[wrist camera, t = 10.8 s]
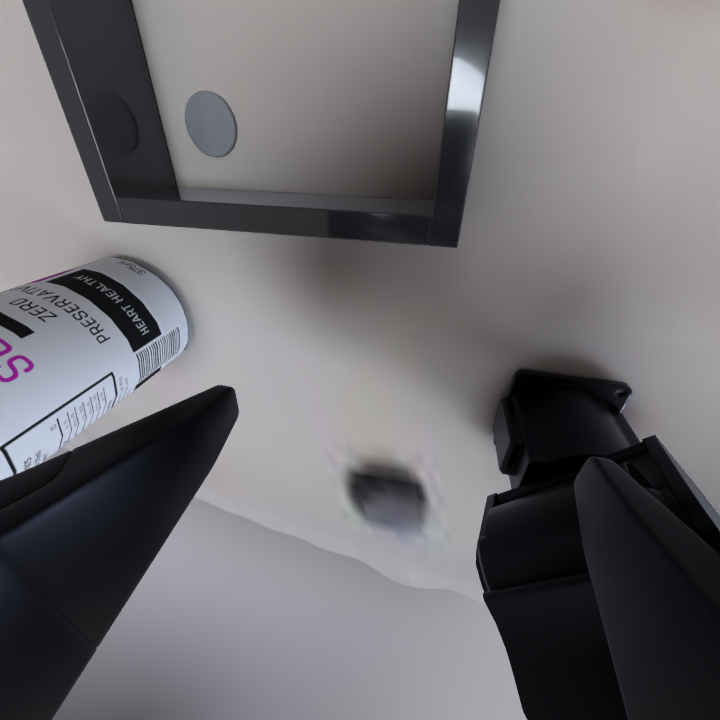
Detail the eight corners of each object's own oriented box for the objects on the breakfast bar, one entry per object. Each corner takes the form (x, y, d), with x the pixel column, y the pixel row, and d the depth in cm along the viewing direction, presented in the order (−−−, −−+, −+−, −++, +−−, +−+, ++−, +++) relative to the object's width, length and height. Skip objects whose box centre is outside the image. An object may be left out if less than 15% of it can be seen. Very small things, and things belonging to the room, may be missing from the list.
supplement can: (122, 352, 28) (-129, 511, 16) (74, 253, 24) (-321, 368, 12) (207, 360, 27) (-1, 545, 14) (172, 255, 22) (-170, 392, 10)
